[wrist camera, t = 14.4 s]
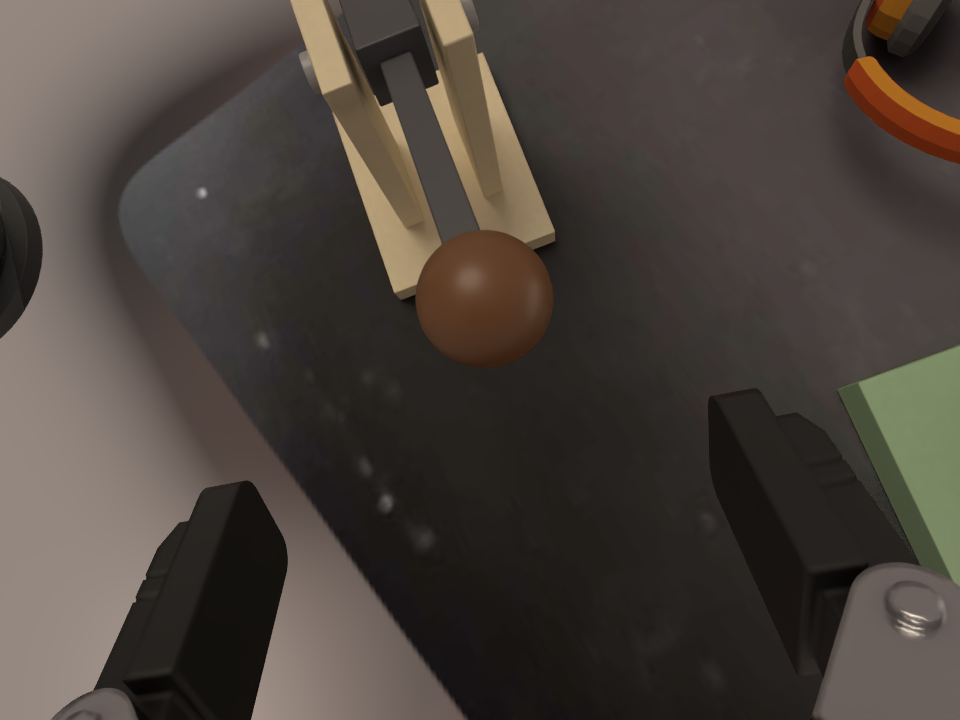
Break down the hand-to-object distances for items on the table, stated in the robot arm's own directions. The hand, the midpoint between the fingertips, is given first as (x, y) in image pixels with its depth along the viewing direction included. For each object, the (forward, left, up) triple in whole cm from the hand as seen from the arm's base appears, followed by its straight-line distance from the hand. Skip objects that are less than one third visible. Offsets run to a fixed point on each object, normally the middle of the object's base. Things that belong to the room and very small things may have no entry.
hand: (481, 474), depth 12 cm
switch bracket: (+1, +15, -19) cm, 24 cm away
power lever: (+1, +9, -8) cm, 12 cm away
